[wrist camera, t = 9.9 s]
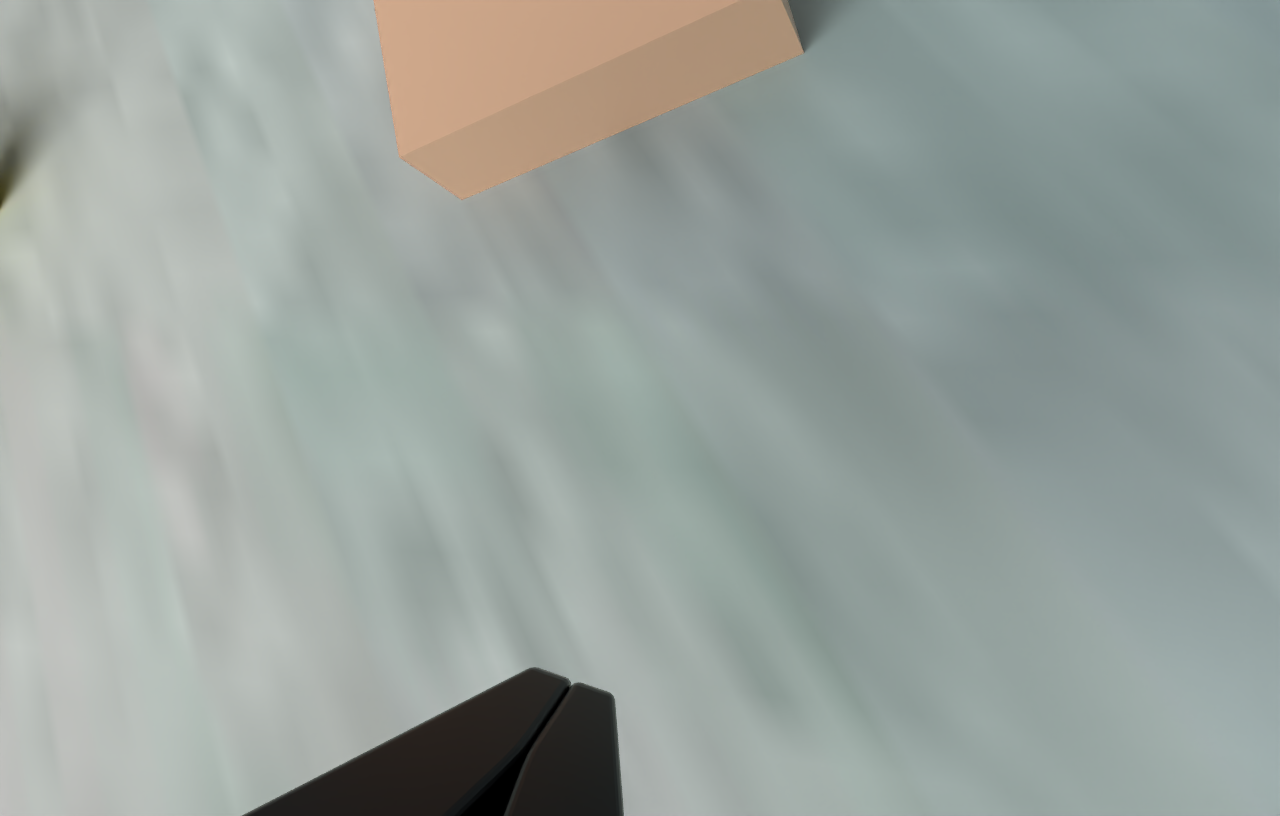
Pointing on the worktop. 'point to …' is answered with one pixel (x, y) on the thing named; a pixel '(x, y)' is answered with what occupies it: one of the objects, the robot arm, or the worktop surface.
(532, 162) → the tile
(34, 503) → the worktop surface
